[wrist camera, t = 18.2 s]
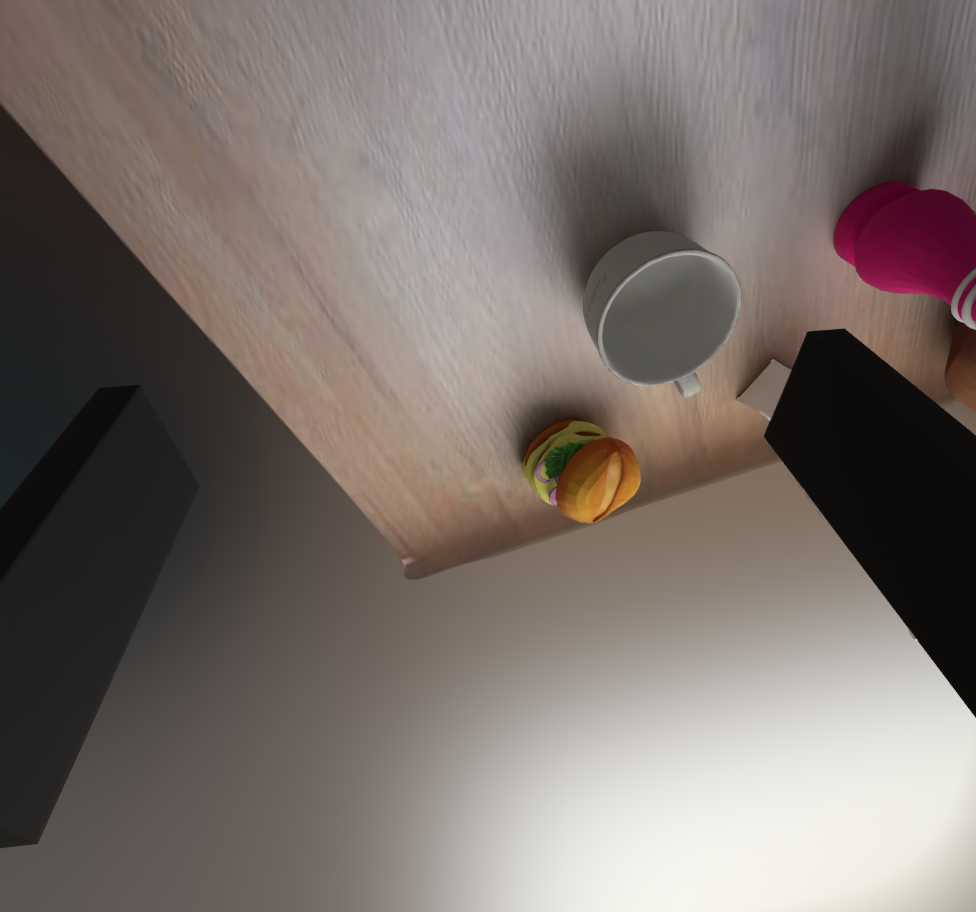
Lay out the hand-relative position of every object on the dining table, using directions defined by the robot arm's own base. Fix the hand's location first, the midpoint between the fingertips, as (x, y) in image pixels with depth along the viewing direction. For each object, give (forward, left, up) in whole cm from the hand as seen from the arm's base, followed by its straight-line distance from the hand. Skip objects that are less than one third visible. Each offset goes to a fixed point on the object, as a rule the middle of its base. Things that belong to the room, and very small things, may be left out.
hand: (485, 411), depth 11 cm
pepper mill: (-19, +30, -33) cm, 48 cm away
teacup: (-2, +21, -33) cm, 39 cm away
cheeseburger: (+13, +30, -33) cm, 46 cm away
